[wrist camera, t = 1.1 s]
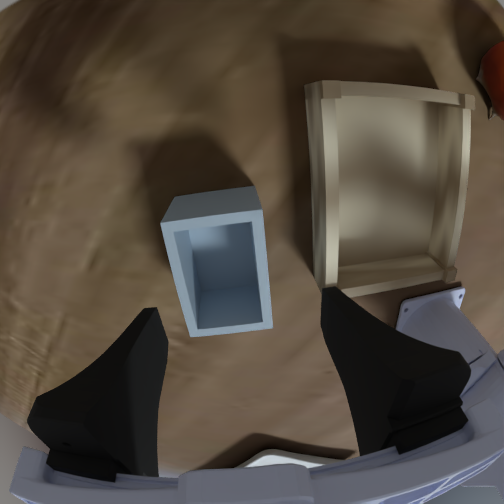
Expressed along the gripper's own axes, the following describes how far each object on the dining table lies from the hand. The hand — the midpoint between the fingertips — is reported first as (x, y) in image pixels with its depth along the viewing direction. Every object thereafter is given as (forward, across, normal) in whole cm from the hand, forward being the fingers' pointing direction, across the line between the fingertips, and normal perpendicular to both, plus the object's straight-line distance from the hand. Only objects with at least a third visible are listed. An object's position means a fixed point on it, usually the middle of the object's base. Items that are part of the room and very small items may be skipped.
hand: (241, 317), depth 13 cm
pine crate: (+10, -11, -3) cm, 15 cm away
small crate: (+10, +1, +1) cm, 10 cm away
